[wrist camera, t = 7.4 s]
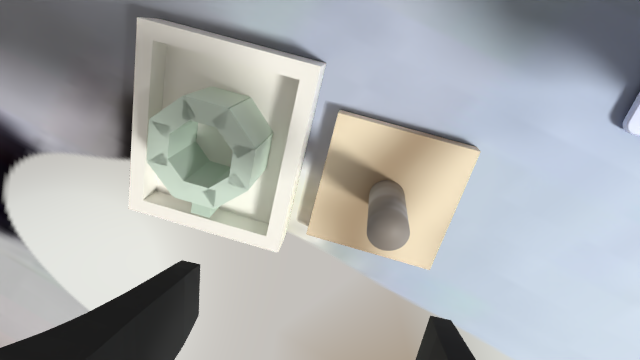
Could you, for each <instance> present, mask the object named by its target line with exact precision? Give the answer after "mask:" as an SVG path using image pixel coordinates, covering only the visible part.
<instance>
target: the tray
mask: <svg viewBox="0 0 640 360" xmlns="http://www.w3.org/2000/svg"><path fill="white" fill-rule="evenodd" d="M325 67H326V63H324V62H320V61H316V60H312V59H309V58H305V57H301V56H297V55H294V54H290V53H286V52H283V51H279V50H275V49H271V48H268V47H264V46H260V45H256V44H253V43H249V42H245V41H241V40H238V39H234V38H230V37H226V36H223V35H219V34H215V33H211V32H208V31H204V30H200V29H196V28H193V27H189V26H185V25H182V24H178V23H174V22H170V21H167V20H163V19H159V18H142V17H137V29H136V51H135V74H134V96H133V119H132V141H131V163H130V186H129V187H130V188H129V208H128V209H130V210H134V211H137V212H140V213H144V214H147V215H151V216H154V217H157V218H161V219H164V220H168V221H171V222H175V223H178V224H181V225H185V226H188V227H192V228H195V229H198V230H202V231H205V232H209V233H212V234H216V235H219V236H222V237H226V238H229V239H233V240H236V241H239V242H243V243H246V244H249V245H253V246H257V247H260V248H263V249H267V250H270V251H273V252H278V251H279V249H280V247H281V245H282V242H283V240H284V238H285V236H286V231H287V227H288V223H289V219H290V215H291V210H292V206H293V202H294V198H295V193H296V189H297V185H298V181H299V177H300V172H301V168H302V164H303V160H304V156H305V151H306V147H307V143H308V139H309V134H310V130H311V126H312V122H313V118H314V113H315V109H316V105H317V101H318V96H319V92H320V88H321V84H322V80H323V75H324V71H325ZM211 86H213V87H217V88H220V89H224V90H228V91H231V92H235V93H239V94H242V95H246V96H250V98H252V99H253V101H254V102H255V104H256V106H257V107H258V109H259V110H260V112H261V113H262V115H263V117H264V118H265V120H266V121H267V123H268V124H269V126H270V127H271V129H272V131H273V132H272V133H273V137H272V143H271V148H270V153H269V158H268V163H267V168H266V169H265V171H264V172H263V173H262V174H261V175H260V177H259V178H258V179H257V180H256V182H255V183H254V184H253V185H252V186H251V188H250V189H249V190H248V191H247V192H245V193H243V194H241V195H239V196H237V197H236V198H234V199H232V200H230V201H228V202H227V203H225V204H223V205H221V206H220V207H219V208H218V209H217V210H216V211H215V212H214V213H213V215H212V216H211V217H210V218H207V217H204V216H201V215H197V214H194V213H191V208H192V203H191V202H188V201H184V200H181V199H177V198H174V196H172V195H171V194H170V192H169V191H168V190H167V188H166V187H165V186H164V184H163V183H162V182H161V180H160V179H159V178H158V176H157V175H156V174H155V172H154V171H153V170H152V168H151V167H150V166H149V164H148V163H147V162H148V161H146V160H147V143H148V127H149V120H150V118H151V117H153V116H154V115H156V114H157V113H159V112H160V111H161V110H163V109H164V108H166V107H167V106H169V105H170V104H172V103H173V102H174V101H176V100H177V99H179V98H180V97H182V96H184V95H187V94H190V93H193V92H196V91H199V90H202V89H205V88H208V87H211ZM196 142H197V143H198V145H199V146H200V148H201V149H202V151H203V152H204V153H205V155H206V156H207V158H208V159H209V161H212V162H215V163H219V164H222V165H226V166H229V167H231V161H232V155H233V151H232V149H231V148H230V147H229V145H228V144H227V142H226V141H225V139H224V138H223V136H222V135H221V133H220V132H219V130H218V129H217V128H216V127H212V126H209V125H205V124H201V123H198V130H197V139H196Z"/></svg>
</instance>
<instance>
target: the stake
mask: <svg viewBox="0 0 640 360" xmlns="http://www.w3.org/2000/svg"><path fill="white" fill-rule="evenodd" d="M479 154H480V150H479V149H478V148H477V147H475V146H471V145H468V144H464V143H460V142H457V141H453V140H449V139H446V138H442V137H438V136H435V135H431V134H427V133H424V132H420V131H416V130H413V129H409V128H405V127H402V126H398V125H394V124H391V123H387V122H383V121H380V120H376V119H372V118H369V117H365V116H361V115H358V114H354V113H350V112H346V111H343V110H339V112H338V116H337V119H336V123H335V127H334V131H333V135H332V139H331V142H330V146H329V150H328V154H327V158H326V161H325V165H324V169H323V173H322V177H321V181H320V184H319V188H318V192H317V196H316V200H315V203H314V207H313V211H312V215H311V219H310V222H309V226H308V230H307V235H310V236H314V237H317V238H321V239H324V240H328V241H331V242H335V243H338V244H341V245H345V246H348V247H352V248H355V249H359V250H362V251H366V252H369V253H373V254H376V255H379V256H383V257H386V258H390V259H393V260H397V261H400V262H404V263H407V264H411V265H414V266H417V267H421V268H424V269H428V270H430V268H431V266H432V264H433V261H434V259H435V257H436V254H437V252H438V250H439V247H440V245H441V243H442V240H443V238H444V236H445V233H446V231H447V229H448V226H449V224H450V222H451V219H452V217H453V215H454V212H455V210H456V208H457V205H458V203H459V201H460V198H461V196H462V194H463V192H464V189H465V187H466V185H467V182H468V180H469V178H470V175H471V173H472V171H473V168H474V166H475V164H476V161H477V159H478V157H479Z"/></svg>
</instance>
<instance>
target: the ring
mask: <svg viewBox="0 0 640 360" xmlns="http://www.w3.org/2000/svg"><path fill="white" fill-rule="evenodd" d="M198 123H201V124H205V125H209V126H212V127H216V128H217V129H218V130H219V132H220V133H221V135H222V136H223V138H224V139H225V141H226V142H227V144H228V145H229V147H230V148H231V149H232V151H233V155H232V161H231V167H229V166H226V165H222V164H219V163H215V162H212V161H209V159H208V158H207V156H206V155H205V153H204V152H203V151H202V149H201V148H200V146H199V145H198V143H197V142H196V139H197V130H198ZM272 132H273V131H272V129H271V127H270V126H269V124H268V123H267V121H266V120H265V118H264V117H263V115H262V113H261V112H260V110H259V109H258V107H257V106H256V104H255V102H254V101H253V99H252V98H250V96H246V95H242V94H239V93H235V92H231V91H228V90H224V89H220V88H217V87H213V86H211V87H208V88H205V89H202V90H199V91H196V92H193V93H190V94H187V95H184V96H182V97H180V98H179V99H177V100H176V101H174V102H173V103H172V104H170V105H169V106H167V107H166V108H164V109H163V110H161V111H160V112H159V113H157V114H156V115H154V116H153V117H151V118H150V120H149V127H148V143H147V160H146V161H148V162H147V163H148V164H149V166H150V167H151V168H152V170H153V171H154V172H155V174H156V175H157V176H158V178H159V179H160V180H161V182H162V183H163V184H164V186H165V187H166V188H167V190H168V191H169V192H170V194H171V195H172V196H174V198H177V199H181V200H184V201H188V202H191V203H192V208H191V213H194V214H197V215H201V216H204V217H207V218H210V217H211V216H212V215H213V213H214V212H215V211H216V210H217V209H218V208H219V207H220V206H221V205H223V204H225V203H227V202H228V201H230V200H232V199H234V198H236V197H237V196H239V195H241V194H243V193H245V192H247V191H248V190H249V189H250V188H251V186H252V185H253V184H254V183H255V182H256V180H257V179H258V178H259V177H260V175H261V174H262V173H263V172H264V171H265V169H266V168H267V163H268V158H269V153H270V148H271V143H272V137H273V133H272Z"/></svg>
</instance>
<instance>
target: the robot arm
mask: <svg viewBox="0 0 640 360" xmlns="http://www.w3.org/2000/svg"><path fill="white" fill-rule="evenodd" d="M623 129H624V130H625V131H626V132H628V133H630V134H633V135H636V136H640V92H639V94H638V96H637V98H636V99H635V101H634V103H633V105H632V106H631V108H630V110H629V112H628V113H627V115H626V117H625V119H624V121H623ZM199 283H200V264H196V263H191V262H186V261H180V262H178V263H176V264H174V265H173V266H171V267H169V268H168V269H166V270H164V271H162V272H161V273H159V274H158V275H156V276H154V277H152V278H151V279H149V280H147V281H146V282H144V283H142V284H140V285H138V286H137V287H135V288H133V289H131V290H130V291H128V292H126V293H124V294H123V295H121V296H119V297H117V298H115V299H113V300H111V301H109V302H107V303H105V304H103V305H101V306H100V307H97V308H95V309H94V310H92V311H90V312H88V313H86V314H83V315H81V316H79V317H77V318H75V319H73V320H71V321H68V322H66V323H64V324H61V325H59V326H57V327H54V328H52V329H50V330H47V331H45V332H42V333H40V334H37V335H35V336H32V337H29V338H26V339H24V340H21V341H18V342H15V343H13V344H10V345H7V346H4V347H2V348H0V360H174V359H175V358H176V356H177V355H178V353H179V351H180V350H181V348H182V347H183V345H184V343H185V341H186V339H187V338H188V335H189V334H190V332H191V330H192V328H193V326H194V323H195V321H196V319H197V317H198V314H199ZM416 360H476V359H475V358H474V356H473V354H472V353H471V351H470V350H469V348H468V347H467V345H466V343H465V342H464V340H463V338H462V337H461V335H460V334H459V332H458V330H457V329H456V327H455V326H454V324H453V323H452V321H451V320H447V319H443V318H438V317H434V316H430V318H429V322H428V324H427V327H426V331H425V334H424V336H423V339H422V342H421V345H420V348H419V351H418V354H417V357H416Z"/></svg>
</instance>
